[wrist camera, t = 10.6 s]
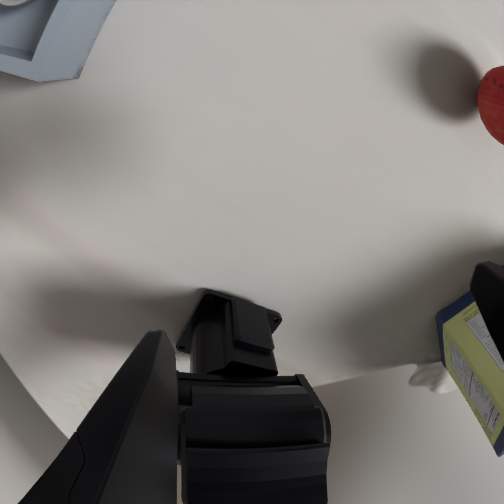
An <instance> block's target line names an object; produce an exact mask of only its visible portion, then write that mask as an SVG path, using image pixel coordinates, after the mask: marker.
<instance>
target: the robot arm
mask: <svg viewBox="0 0 504 504" xmlns="http://www.w3.org/2000/svg"><path fill="white" fill-rule="evenodd" d="M470 291H471V294H472V296H473V298H474V300H475V302H476V304H477V307H478V309H479V311H480V313H481V316H482V318H483V320H484V323H485V325H486V327H487V330H488V332H489V334H490V336H491V338H492V340H493V342H494V344H495V346H496V348H497V350H498V352H499V354H500V356H501V358H502V360H503V362H504V267H502V266H500V265H497V264H495V263H493V262H491V261H482V262H479V263H477V264H476V266H475V269H474V272H473V276H472V279H471V283H470ZM207 296H211V298H207ZM275 318H277V319H275ZM273 319H275V320H273ZM281 322H282V317H281V315H280V314H279V313H277V312H274V311H271V310H268V309H265V308H264V307H261V306H258V305H255V304H252V303H249V302H247V301H244V300H241V299H238V298H232V297H230V296H227V295H224V294H221V293H218V292H215V291H212V290H206V291H204V292H203V293H202V295H201V297H200V299H199V301H198V303H197V305H196V307H195V308H194V310H193V312H192V314H191V316H190V318H189V320H188V322H187V323H186V325H185V327H184V329H183V331H182V333H181V335H180V337H179V339H178V341H177V343H176V348H177V350H179V351H181V352H184V353H188V354H190V373H184V372H179V371H177V370H176V358H175V352H174V349H173V347H172V345H171V343H170V341H169V339H168V337H167V335H166V333H165V331H164V330H162V329H159V330H151V331H148V332H147V333H146V334H145V335H144V337H143V338H142V339H141V341H140V342H139V344H138V345H137V346H136V348H135V349H134V350H133V352H132V353H131V354H130V356H129V357H128V358H127V360H126V361H125V362H124V364H123V365H122V367H121V368H120V369H119V371H118V372H117V373H116V375H115V376H114V377H113V379H112V380H111V382H110V383H109V384H108V386H107V387H106V389H105V390H104V391H103V393H102V394H101V395H100V397H99V398H98V400H97V401H96V402H95V404H94V405H93V407H92V408H91V410H90V411H89V412H88V414H87V415H86V417H85V418H84V419H83V421H82V422H81V424H80V425H79V427H78V428H77V430H76V431H77V432H74V434H73V435H72V436H71V438H70V439H69V441H68V442H67V444H66V445H65V446H64V448H63V449H62V451H61V452H60V453H59V455H58V456H57V457H56V459H55V460H54V461H53V462H52V464H51V465H50V466H49V467H48V469H47V470H46V471H45V472H44V474H43V475H42V476H41V477H40V478H39V480H38V481H37V482H36V483H35V484H34V485H33V487H32V488H31V489H30V490H29V491H28V493H27V494H26V495H25V496H24V498H23V499H22V500H21V501H20V502H19V503H18V504H177V464H178V465H180V471H181V472H180V479H181V497H182V502H183V504H327V502H328V498H327V482H326V471H327V459H328V455H329V449H330V442H331V426H330V420H329V417H328V414H327V412H326V410H325V408H324V406H323V405H322V403H321V401H320V400H319V398H318V397H317V395H316V394H315V392H314V391H313V389H312V387H311V386H310V384H309V382H308V381H307V379H306V378H305V376H304V375H303V374H295V375H294V376H277V374H278V370H277V365H276V361H275V357H274V353H273V350H274V343H273V338H272V334H273V333H274V331H275V330H276V329H277V327H278V326H279V325H280V323H281ZM181 345H183V346H181Z"/></svg>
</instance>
